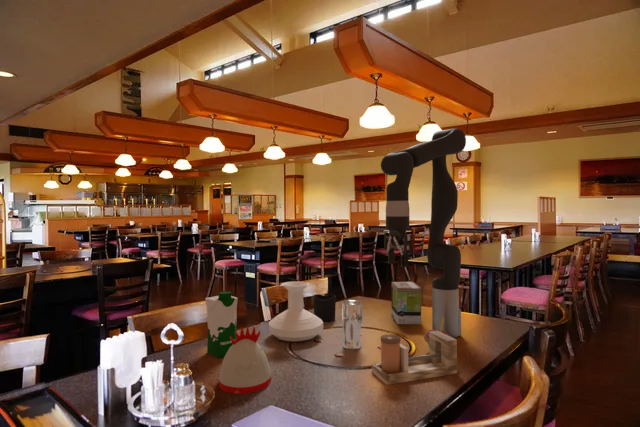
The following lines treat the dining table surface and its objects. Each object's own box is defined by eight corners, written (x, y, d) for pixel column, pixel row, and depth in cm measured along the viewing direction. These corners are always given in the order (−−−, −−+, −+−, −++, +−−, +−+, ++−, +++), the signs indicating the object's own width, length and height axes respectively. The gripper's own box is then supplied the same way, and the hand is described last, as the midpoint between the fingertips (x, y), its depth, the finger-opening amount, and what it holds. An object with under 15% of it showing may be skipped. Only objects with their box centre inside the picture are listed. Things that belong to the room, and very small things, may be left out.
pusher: (449, 358, 122) (449, 335, 122) (462, 365, 117) (462, 341, 117) (393, 366, 116) (393, 342, 116) (404, 374, 111) (404, 348, 111)
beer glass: (361, 350, 133) (360, 305, 133) (340, 349, 135) (339, 304, 134) (363, 343, 140) (363, 300, 140) (343, 342, 141) (342, 299, 141)
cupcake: (451, 348, 134) (451, 312, 134) (451, 357, 126) (451, 319, 126) (425, 346, 137) (424, 310, 137) (422, 354, 129) (422, 317, 129)
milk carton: (217, 359, 126) (216, 295, 126) (202, 352, 133) (202, 291, 132) (241, 352, 132) (240, 291, 132) (226, 346, 139) (225, 287, 139)
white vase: (290, 350, 135) (290, 291, 134) (257, 336, 150) (257, 283, 149) (334, 337, 148) (334, 284, 147) (300, 325, 163) (299, 277, 162)
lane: (438, 362, 123) (437, 330, 123) (456, 373, 114) (456, 339, 114) (371, 371, 116) (371, 338, 116) (386, 384, 107) (386, 349, 107)
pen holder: (325, 315, 177) (325, 292, 177) (340, 320, 170) (340, 296, 170) (308, 319, 170) (308, 296, 170) (324, 324, 163) (324, 299, 163)
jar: (394, 367, 116) (394, 333, 116) (404, 375, 111) (404, 339, 111) (377, 370, 114) (377, 335, 114) (386, 378, 109) (386, 341, 109)
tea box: (422, 324, 162) (422, 287, 162) (396, 324, 162) (396, 287, 162) (414, 314, 177) (413, 280, 177) (390, 314, 177) (390, 281, 177)
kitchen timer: (275, 389, 105) (274, 332, 105) (220, 397, 101) (219, 337, 101) (266, 369, 119) (266, 318, 118) (218, 375, 115) (217, 322, 115)
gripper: (419, 215, 125) (420, 267, 126) (396, 214, 139) (397, 262, 139) (398, 215, 123) (398, 269, 123) (377, 214, 136) (377, 263, 137)
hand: (397, 265), depth 131 cm, fingers open, 8 cm apart
